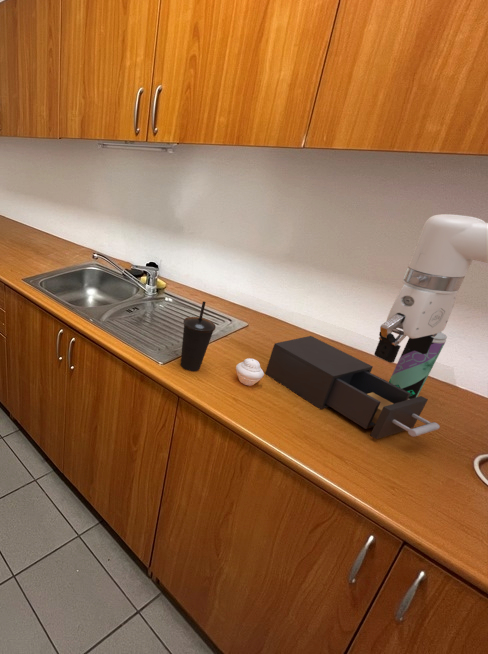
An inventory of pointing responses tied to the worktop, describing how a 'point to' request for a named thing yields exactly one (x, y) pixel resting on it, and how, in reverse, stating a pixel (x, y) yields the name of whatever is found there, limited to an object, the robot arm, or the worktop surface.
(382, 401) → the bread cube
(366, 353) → the worktop surface
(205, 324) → the drinking cup
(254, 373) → the muffin
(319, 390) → the drawer box
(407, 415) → the pull-out drawer
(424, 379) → the spray can
